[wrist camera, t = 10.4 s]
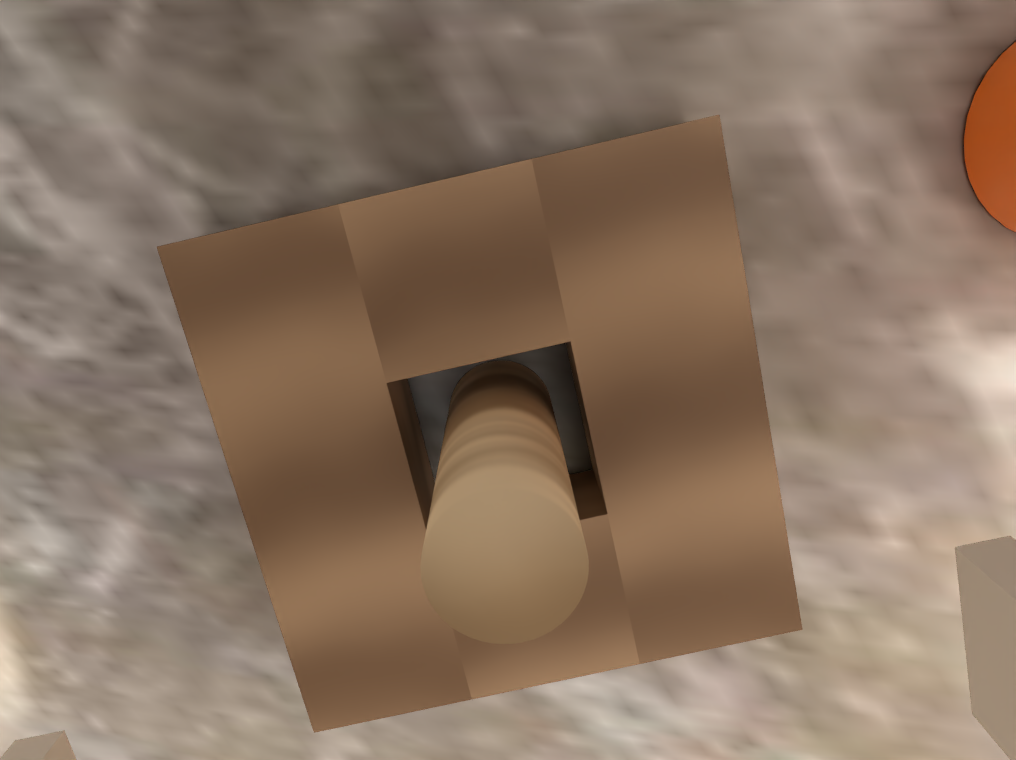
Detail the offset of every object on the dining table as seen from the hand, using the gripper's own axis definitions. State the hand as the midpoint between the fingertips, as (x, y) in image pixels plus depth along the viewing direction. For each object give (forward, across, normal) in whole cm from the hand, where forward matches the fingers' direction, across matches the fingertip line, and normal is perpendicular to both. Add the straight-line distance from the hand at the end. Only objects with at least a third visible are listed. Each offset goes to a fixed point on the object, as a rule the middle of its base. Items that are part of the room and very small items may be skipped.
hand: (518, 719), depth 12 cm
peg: (+18, 0, 0) cm, 18 cm away
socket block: (+17, 0, -1) cm, 17 cm away
